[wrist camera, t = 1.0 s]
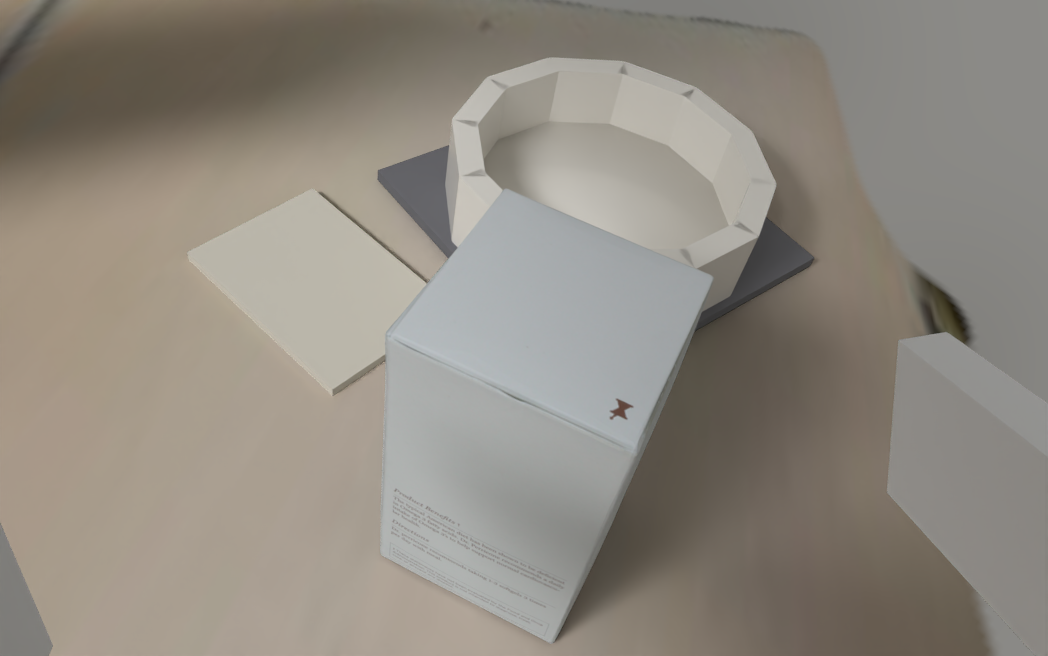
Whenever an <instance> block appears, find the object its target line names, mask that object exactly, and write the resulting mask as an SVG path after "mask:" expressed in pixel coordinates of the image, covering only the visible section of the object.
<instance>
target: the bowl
mask: <svg viewBox="0 0 1048 656" xmlns="http://www.w3.org/2000/svg"><path fill="white" fill-rule="evenodd" d="M776 186H777V184H776V182H775V180H774V178H773V175H772V173H771V171H770V169H769V167H768V164H767V162H766V160H765V158H764V156H763V154H762V151H761V149H760V147H759V145H758V143H757V140H756V138H755V136H754V134H753V132H752V130H750V129H749V128H748V127H746V126H745V125H744V124H743V123H741V122H740V121H739V120H738V119H736V118H735V117H734V116H733V115H731V114H730V113H729V112H727V111H726V110H725V109H724V108H722V107H721V106H720V105H719V104H717V103H716V102H715V101H713V100H712V99H711V98H710V97H708V96H707V95H706V94H705V93H703V92H702V91H701V90H700V89H698V88H696V87H695V86H692V85H689V84H686V83H684V82H681V81H678V80H675V79H673V78H670V77H667V76H664V75H661V74H659V73H656V72H653V71H650V70H648V69H645V68H642V67H639V66H636V65H634V64H631V63H628V62H624V61H613V60H594V59H576V58H557V57H550V58H549V57H548V58H545V59H542V60H539V61H536V62H533V63H529V64H526V65H523V66H520V67H517V68H514V69H510V70H507V71H504V72H501V73H498V74H495V75H491V76H488V77H486V79H485V80H484V81H483V82H482V83H481V85H480V86H479V87H478V88H477V89H476V91H475V92H474V93H473V94H472V96H471V97H470V98H469V99H468V100H467V102H466V103H465V104H464V105H463V106H462V108H461V109H460V110H459V111H458V112H457V114H456V115H455V116H454V117H453V119H452V124H451V134H450V143H449V153H448V162H447V172H446V181H445V187H446V196H447V205H448V214H449V223H450V232H451V240H452V242H453V243H454V244H455V245H456V246H457V247H459V245H460V244H461V243H462V242H463V240H464V239H465V238H466V237H467V235H468V234H469V233H470V232H471V230H472V229H473V228H474V227H475V225H476V224H477V223H478V222H479V220H480V219H481V218H482V216H483V215H484V214H485V213H486V211H487V210H488V209H489V208H490V206H491V205H492V204H493V202H494V201H495V200H496V199H497V197H498V196H499V195H500V194H501V192H502V191H503V189H509V190H511V191H514V192H516V193H518V194H521V195H523V196H525V197H528V198H530V199H532V200H535V201H537V202H539V203H541V204H544V205H546V206H548V207H551V208H553V209H555V210H558V211H560V212H562V213H565V214H567V215H569V216H572V217H574V218H577V219H579V220H581V221H584V222H586V223H588V224H591V225H593V226H595V227H598V228H600V229H602V230H605V231H607V232H610V233H612V234H614V235H617V236H619V237H621V238H624V239H626V240H628V241H631V242H633V243H635V244H638V245H640V246H642V247H645V248H647V249H650V250H652V251H654V252H657V253H659V254H661V255H664V256H666V257H669V258H671V259H674V260H676V261H678V262H681V263H683V264H686V265H688V266H691V267H693V268H695V269H698V270H700V271H703V272H705V273H707V274H710V275H712V276H713V278H714V281H713V284H712V286H711V289H710V292H709V295H708V298H707V300H706V303H705V305H704V308H703V310H702V312H703V311H705V310H706V309H708V308H710V307H712V306H714V305H715V304H717V303H719V302H721V301H723V300H724V299H726V298H728V297H730V296H731V294H732V292H733V289H734V287H735V285H736V283H737V281H738V279H739V277H740V275H741V273H742V271H743V269H744V266H745V264H746V262H747V260H748V258H749V256H750V254H751V252H752V250H753V248H754V246H755V243H756V241H757V239H758V237H759V235H760V232H761V229H762V226H763V223H764V220H765V218H766V215H767V212H768V209H769V206H770V203H771V200H772V198H773V195H774V192H775V189H776Z"/></svg>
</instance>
